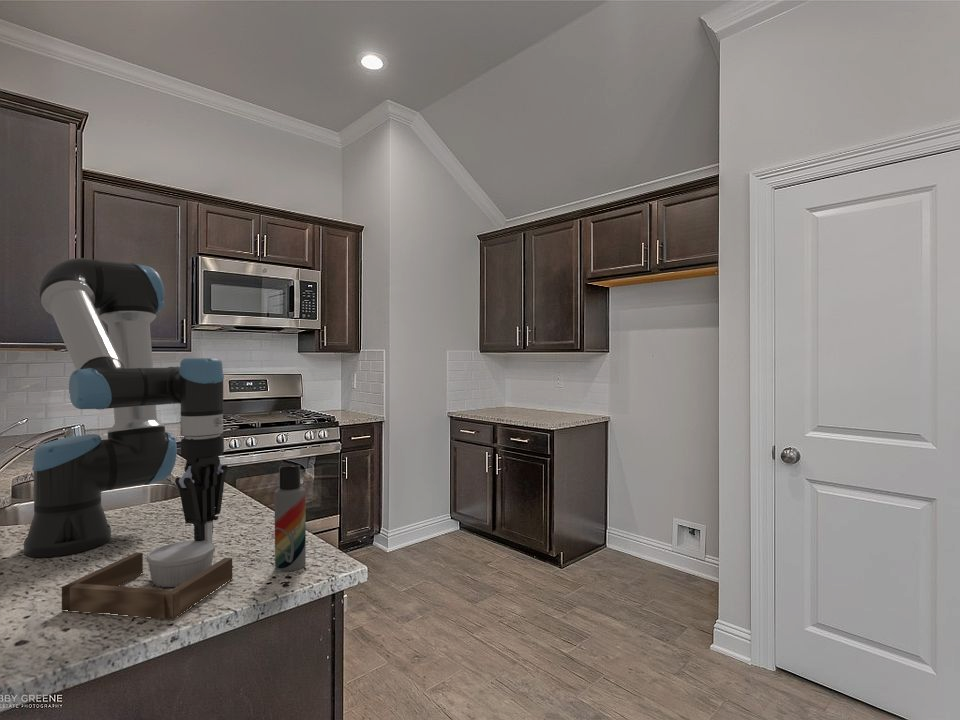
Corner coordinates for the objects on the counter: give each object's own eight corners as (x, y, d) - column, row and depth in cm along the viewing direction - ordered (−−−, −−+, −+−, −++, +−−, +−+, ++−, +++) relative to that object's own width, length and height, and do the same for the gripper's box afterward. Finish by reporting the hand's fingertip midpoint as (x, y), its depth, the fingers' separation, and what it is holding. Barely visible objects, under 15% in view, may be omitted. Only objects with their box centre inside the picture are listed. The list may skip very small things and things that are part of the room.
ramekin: (170, 565, 105) (170, 538, 105) (226, 566, 105) (226, 539, 105) (132, 590, 94) (131, 560, 94) (194, 591, 94) (194, 561, 94)
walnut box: (61, 611, 86) (61, 586, 86) (135, 573, 101) (135, 552, 101) (173, 620, 83) (172, 594, 83) (232, 579, 98) (232, 558, 98)
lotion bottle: (275, 574, 101) (274, 468, 101) (274, 563, 106) (273, 463, 106) (307, 569, 103) (306, 466, 103) (304, 558, 108) (303, 460, 108)
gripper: (198, 441, 98) (199, 569, 99) (239, 431, 111) (240, 544, 111) (161, 441, 99) (162, 567, 100) (206, 430, 112) (207, 542, 113)
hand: (203, 554), depth 106 cm, fingers closed
